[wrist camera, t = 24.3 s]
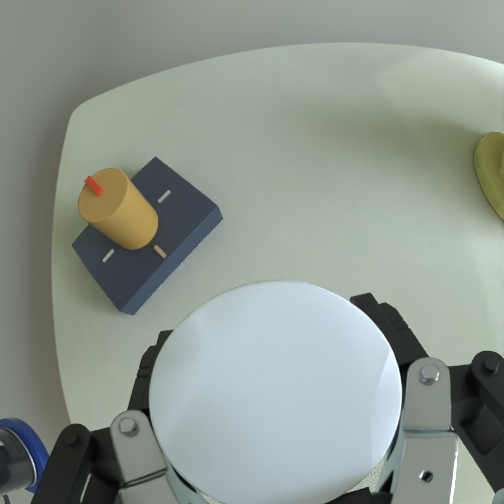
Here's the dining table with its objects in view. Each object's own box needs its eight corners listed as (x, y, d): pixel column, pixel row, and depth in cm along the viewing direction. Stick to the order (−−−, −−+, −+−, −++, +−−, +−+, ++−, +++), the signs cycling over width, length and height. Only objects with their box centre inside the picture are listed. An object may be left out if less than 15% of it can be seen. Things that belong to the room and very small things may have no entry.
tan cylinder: (168, 221, 24) (137, 183, 18) (134, 260, 23) (93, 232, 17) (138, 195, 25) (106, 156, 19) (106, 230, 24) (67, 199, 18)
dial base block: (133, 315, 24) (118, 311, 22) (85, 252, 27) (70, 244, 24) (223, 218, 26) (218, 205, 24) (163, 169, 29) (154, 155, 26)
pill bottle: (205, 333, 16) (81, 301, 5) (308, 294, 16) (360, 193, 6) (244, 435, 14) (187, 557, 3) (349, 395, 14) (463, 461, 3)
